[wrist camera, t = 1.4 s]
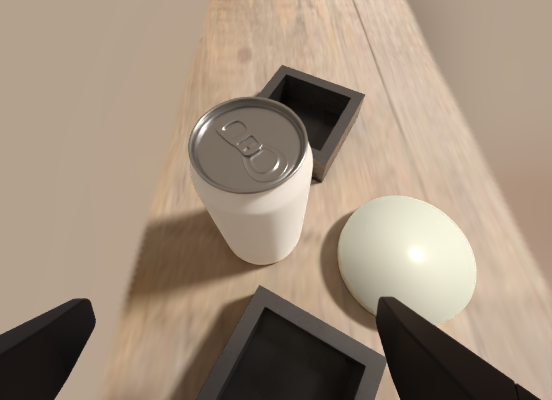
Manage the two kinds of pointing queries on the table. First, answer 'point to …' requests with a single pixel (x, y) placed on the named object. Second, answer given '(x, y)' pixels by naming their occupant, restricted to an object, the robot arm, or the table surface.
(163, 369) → the table surface
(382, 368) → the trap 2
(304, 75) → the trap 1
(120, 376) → the table surface
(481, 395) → the robot arm
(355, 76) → the table surface
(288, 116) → the can
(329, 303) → the table surface
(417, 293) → the pad
